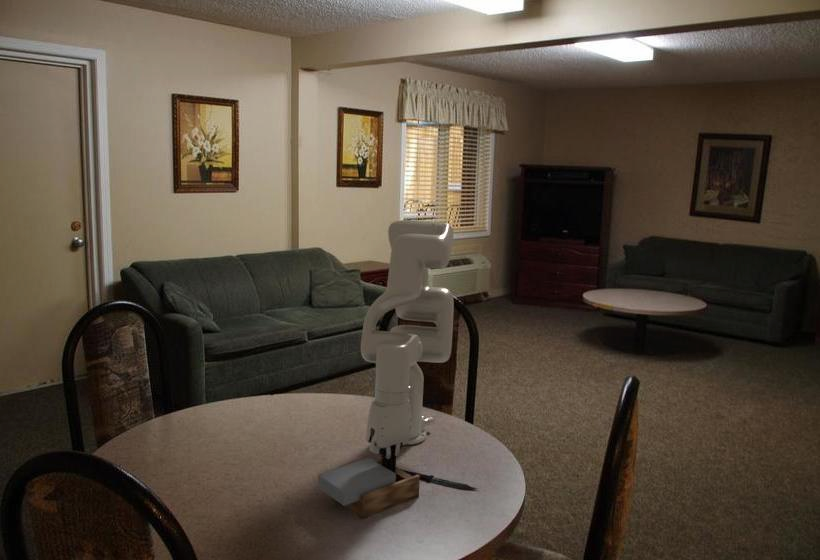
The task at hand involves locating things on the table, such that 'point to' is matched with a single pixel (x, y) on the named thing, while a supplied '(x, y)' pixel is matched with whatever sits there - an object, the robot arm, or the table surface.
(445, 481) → the knife
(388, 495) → the walnut box
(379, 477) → the cover plate
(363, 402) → the table surface
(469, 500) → the table surface
